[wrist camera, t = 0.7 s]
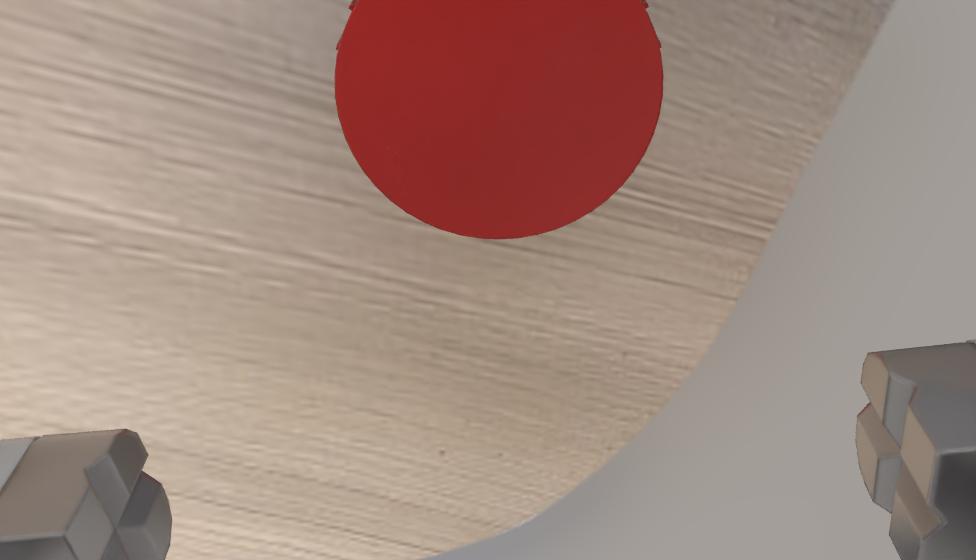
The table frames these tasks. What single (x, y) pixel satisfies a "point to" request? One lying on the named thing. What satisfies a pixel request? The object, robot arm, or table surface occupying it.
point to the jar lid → (498, 107)
